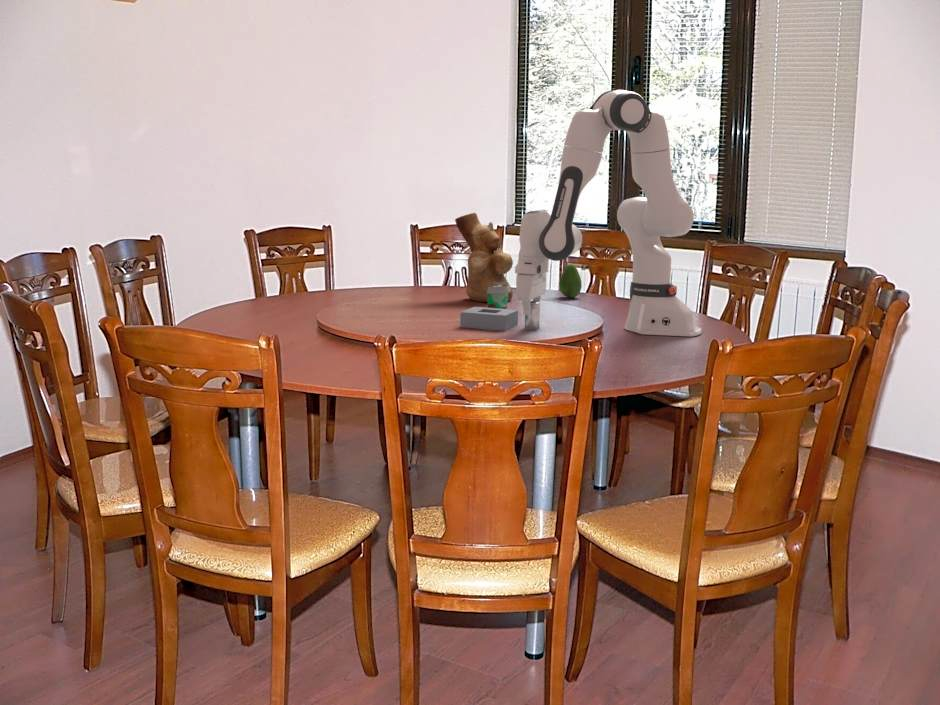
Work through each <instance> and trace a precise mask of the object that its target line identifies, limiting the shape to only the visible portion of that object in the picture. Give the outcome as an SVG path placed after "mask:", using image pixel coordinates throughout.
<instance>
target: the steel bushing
mask: <svg viewBox="0 0 940 705" xmlns="http://www.w3.org/2000/svg"><path fill="white" fill-rule="evenodd" d="M540 320H541V301H540V302H538V301H533V300H530V314H529V315H524V328H523V329H524V330H526V331H538V330H537V329H539V330H540V326H541V325H540V324H541V322H540Z"/></svg>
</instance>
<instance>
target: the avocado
mask: <svg viewBox="0 0 940 705" xmlns="http://www.w3.org/2000/svg"><path fill="white" fill-rule="evenodd" d="M558 282H559V284H558V286H559V290H560V292H561V294H562V295H563V296H564V297H566V298H568V299H574V298H576V297H577V296H578V295H579V294H580V292H581V289H582V279H581V275H580V273H579V270H578V269H577V266H576V265H574V264H568V265H566V266H565V267H564V269H563V270H562V273H561V275H560V278H559V281H558Z"/></svg>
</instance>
